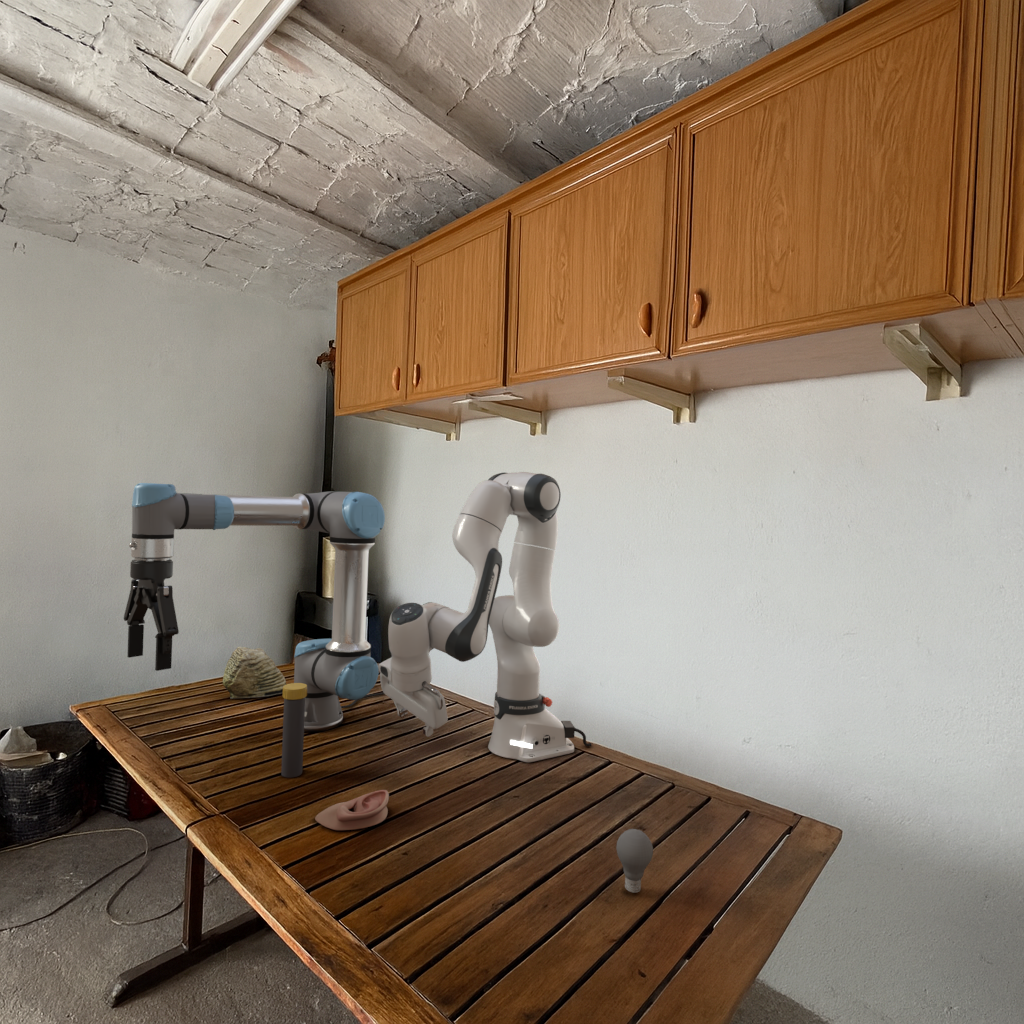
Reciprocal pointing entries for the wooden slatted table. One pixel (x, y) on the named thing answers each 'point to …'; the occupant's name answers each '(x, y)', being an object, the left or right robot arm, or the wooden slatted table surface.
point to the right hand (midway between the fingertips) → (415, 724)
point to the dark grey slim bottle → (293, 737)
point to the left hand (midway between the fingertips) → (148, 662)
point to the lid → (294, 691)
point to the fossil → (252, 674)
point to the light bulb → (634, 857)
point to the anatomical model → (356, 812)
